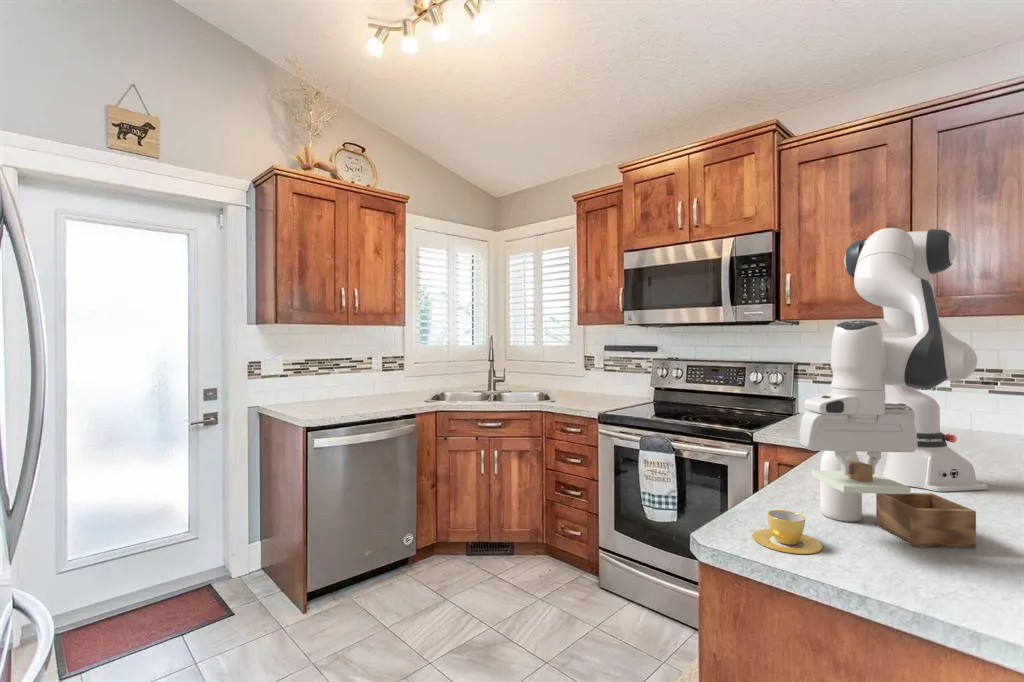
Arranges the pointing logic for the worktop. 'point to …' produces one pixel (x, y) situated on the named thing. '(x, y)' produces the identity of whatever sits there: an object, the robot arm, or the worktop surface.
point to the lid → (860, 480)
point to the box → (926, 520)
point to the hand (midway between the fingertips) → (857, 473)
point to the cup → (787, 533)
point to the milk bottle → (838, 493)
